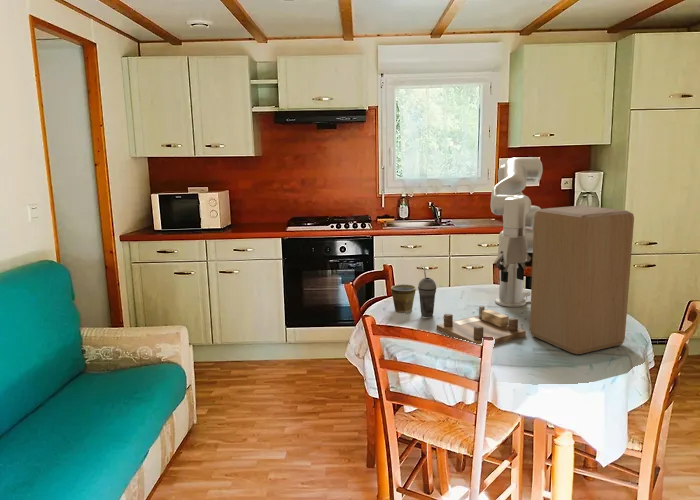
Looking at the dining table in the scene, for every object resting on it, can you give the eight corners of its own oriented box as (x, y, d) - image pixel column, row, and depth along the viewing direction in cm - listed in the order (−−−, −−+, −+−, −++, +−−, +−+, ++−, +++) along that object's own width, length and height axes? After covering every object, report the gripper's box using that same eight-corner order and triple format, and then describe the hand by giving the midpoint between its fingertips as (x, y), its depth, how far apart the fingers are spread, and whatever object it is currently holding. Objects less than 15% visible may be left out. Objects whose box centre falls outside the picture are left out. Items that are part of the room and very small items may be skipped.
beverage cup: (435, 319, 211) (436, 269, 207) (417, 318, 213) (417, 268, 209) (436, 313, 218) (437, 265, 214) (418, 312, 220) (418, 264, 216)
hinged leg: (481, 319, 202) (482, 310, 202) (488, 317, 204) (488, 309, 203) (501, 327, 194) (501, 317, 193) (508, 325, 195) (508, 316, 195)
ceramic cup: (420, 312, 220) (420, 288, 218) (399, 316, 216) (399, 292, 214) (403, 304, 232) (403, 281, 230) (383, 307, 227) (383, 284, 225)
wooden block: (576, 357, 171) (584, 216, 162) (526, 335, 191) (531, 208, 182) (627, 346, 180) (638, 210, 171) (574, 326, 200) (581, 204, 191)
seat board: (482, 319, 209) (482, 303, 208) (525, 336, 191) (526, 318, 189) (436, 330, 199) (436, 313, 198) (477, 348, 180) (477, 330, 179)
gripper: (526, 228, 201) (524, 275, 205) (487, 232, 195) (486, 281, 198) (540, 231, 194) (538, 280, 198) (500, 235, 188) (499, 285, 191)
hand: (512, 280), depth 198 cm, fingers open, 6 cm apart
